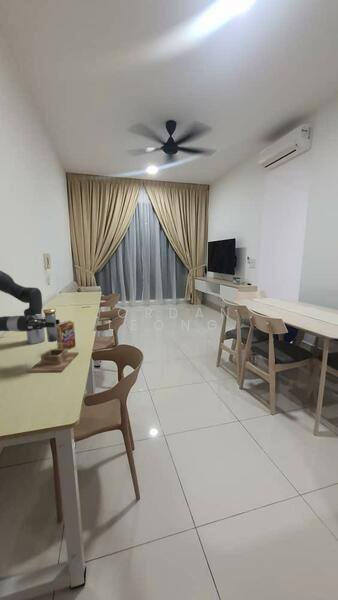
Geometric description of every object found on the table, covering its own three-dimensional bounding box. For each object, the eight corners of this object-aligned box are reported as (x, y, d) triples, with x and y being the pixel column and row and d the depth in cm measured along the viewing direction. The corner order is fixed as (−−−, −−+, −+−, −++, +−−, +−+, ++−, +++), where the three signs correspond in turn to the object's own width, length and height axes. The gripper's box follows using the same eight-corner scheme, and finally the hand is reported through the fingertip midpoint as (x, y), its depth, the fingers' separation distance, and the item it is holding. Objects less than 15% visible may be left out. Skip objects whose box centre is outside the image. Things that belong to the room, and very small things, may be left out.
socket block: (50, 354, 128) (49, 345, 127) (78, 353, 128) (77, 344, 127) (28, 372, 108) (27, 361, 107) (61, 372, 108) (60, 361, 107)
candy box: (61, 351, 131) (59, 324, 128) (57, 350, 133) (54, 323, 130) (76, 346, 138) (74, 321, 135) (72, 345, 140) (69, 319, 138)
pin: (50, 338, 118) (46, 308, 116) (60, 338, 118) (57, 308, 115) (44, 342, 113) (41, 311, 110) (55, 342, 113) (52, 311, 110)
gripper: (10, 319, 107) (48, 319, 106) (28, 312, 121) (62, 312, 120) (12, 336, 108) (50, 335, 108) (30, 326, 122) (64, 326, 122)
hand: (56, 323), depth 114 cm, fingers closed on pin, 4 cm apart
